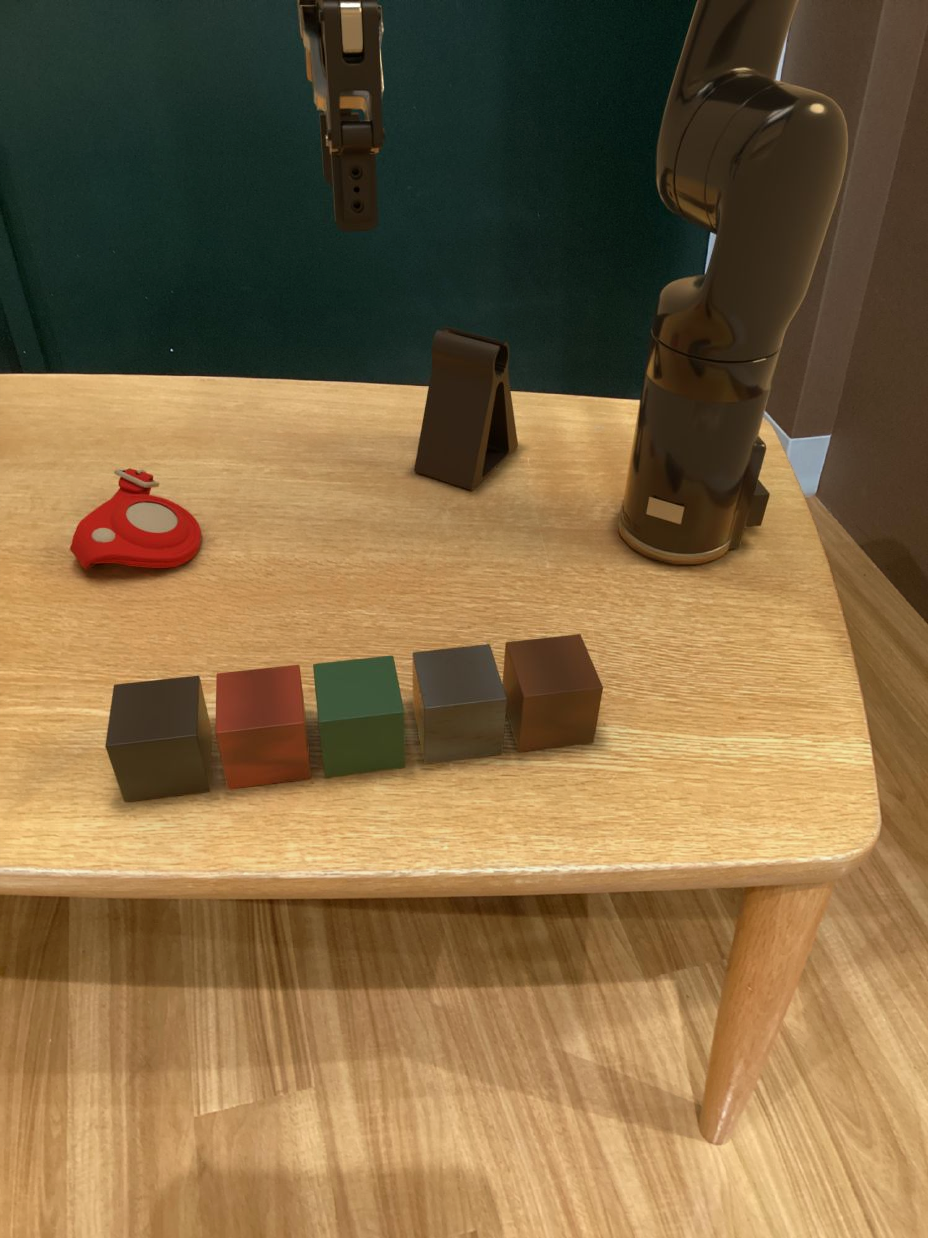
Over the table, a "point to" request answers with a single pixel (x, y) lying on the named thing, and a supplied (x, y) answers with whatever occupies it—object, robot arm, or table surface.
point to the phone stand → (466, 410)
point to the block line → (277, 728)
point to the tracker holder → (136, 528)
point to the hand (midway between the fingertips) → (349, 204)
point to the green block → (360, 716)
